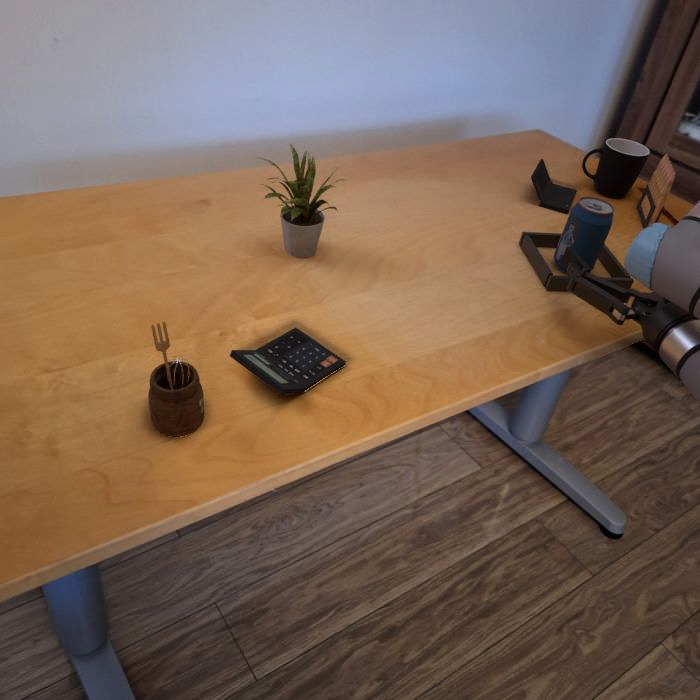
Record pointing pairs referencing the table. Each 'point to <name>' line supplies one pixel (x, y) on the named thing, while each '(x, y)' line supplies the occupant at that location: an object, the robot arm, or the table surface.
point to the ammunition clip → (656, 193)
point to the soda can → (585, 231)
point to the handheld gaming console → (551, 191)
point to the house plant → (301, 208)
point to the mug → (617, 166)
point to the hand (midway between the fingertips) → (604, 253)
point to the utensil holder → (174, 393)
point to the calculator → (290, 362)
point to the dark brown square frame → (561, 282)
